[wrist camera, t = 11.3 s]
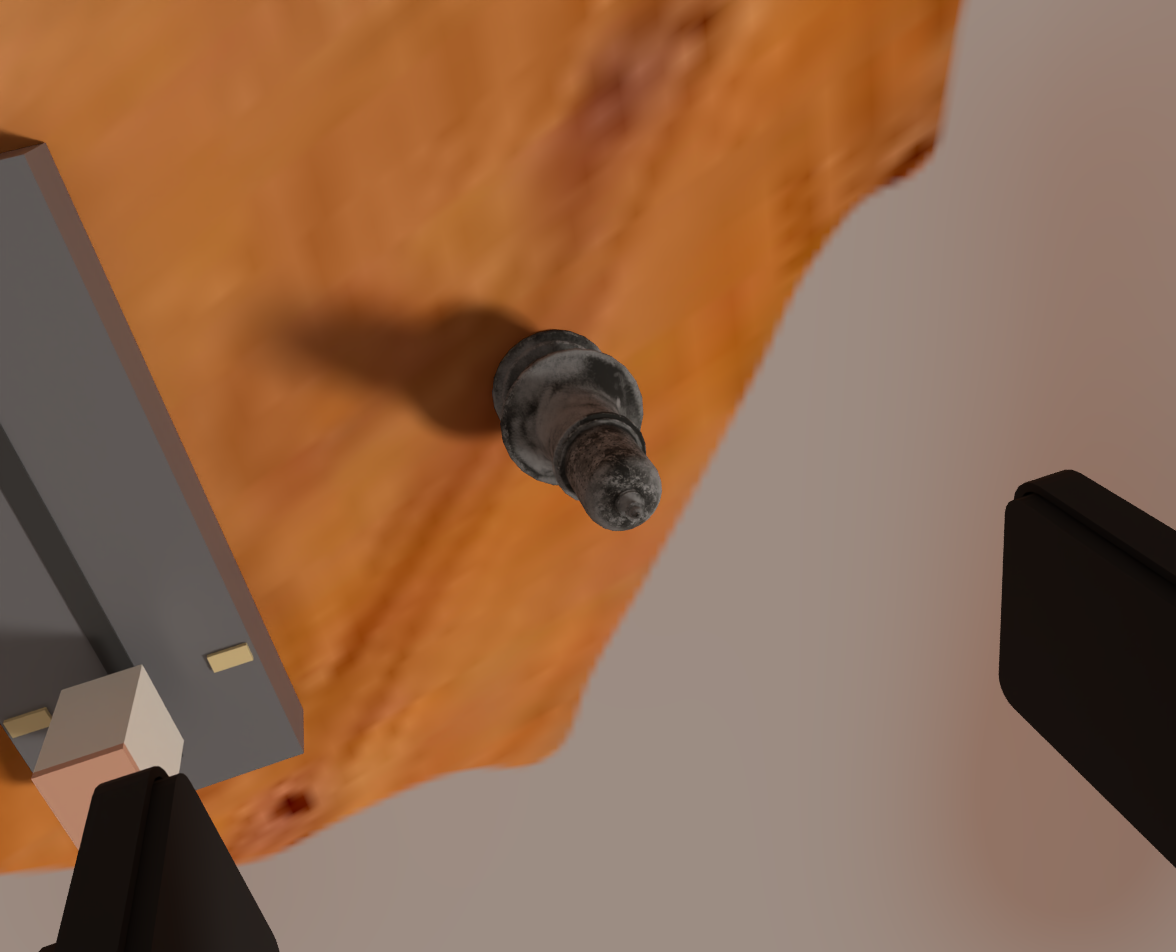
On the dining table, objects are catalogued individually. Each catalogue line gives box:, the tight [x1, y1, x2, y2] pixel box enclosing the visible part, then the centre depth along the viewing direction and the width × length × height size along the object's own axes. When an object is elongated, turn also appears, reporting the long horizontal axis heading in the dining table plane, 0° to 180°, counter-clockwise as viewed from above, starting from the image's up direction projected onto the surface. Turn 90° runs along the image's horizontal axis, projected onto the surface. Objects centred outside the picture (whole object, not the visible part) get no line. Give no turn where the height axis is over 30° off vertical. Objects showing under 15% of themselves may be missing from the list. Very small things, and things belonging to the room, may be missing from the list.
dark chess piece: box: [492, 330, 662, 531], centre depth 36 cm, size 6×6×12 cm
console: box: [0, 143, 304, 790], centre depth 37 cm, size 26×10×3 cm, turn 12°
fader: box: [31, 664, 184, 850], centre depth 36 cm, size 4×3×6 cm
